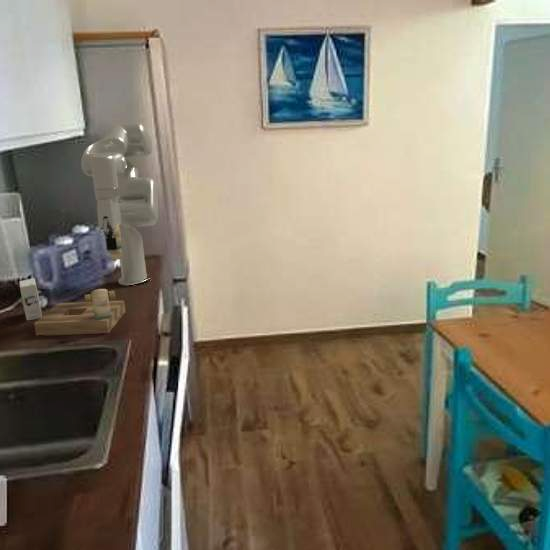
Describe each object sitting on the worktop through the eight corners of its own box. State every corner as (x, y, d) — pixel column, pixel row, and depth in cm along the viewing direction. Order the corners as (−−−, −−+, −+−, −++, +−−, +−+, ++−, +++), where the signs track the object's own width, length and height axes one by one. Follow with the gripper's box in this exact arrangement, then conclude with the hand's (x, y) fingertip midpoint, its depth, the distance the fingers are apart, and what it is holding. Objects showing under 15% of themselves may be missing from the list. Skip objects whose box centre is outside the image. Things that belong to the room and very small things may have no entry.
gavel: (83, 284, 196) (110, 280, 199) (84, 295, 197) (112, 291, 200) (84, 296, 177) (114, 291, 180) (86, 309, 178) (116, 304, 181)
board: (60, 314, 173) (54, 280, 170) (125, 311, 173) (120, 277, 169) (36, 335, 156) (29, 298, 152) (108, 333, 156) (103, 295, 152)
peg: (111, 256, 177) (106, 222, 174) (125, 256, 177) (120, 221, 174) (106, 260, 173) (101, 225, 169) (121, 259, 173) (116, 224, 169)
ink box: (25, 313, 176) (18, 280, 172) (40, 310, 178) (34, 277, 175) (26, 321, 169) (19, 286, 165) (42, 318, 171) (36, 284, 167)
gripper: (104, 190, 177) (111, 242, 182) (86, 198, 160) (95, 254, 166) (125, 189, 177) (132, 241, 182) (110, 197, 160) (118, 253, 166)
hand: (114, 246), depth 174 cm, fingers closed on peg, 4 cm apart
